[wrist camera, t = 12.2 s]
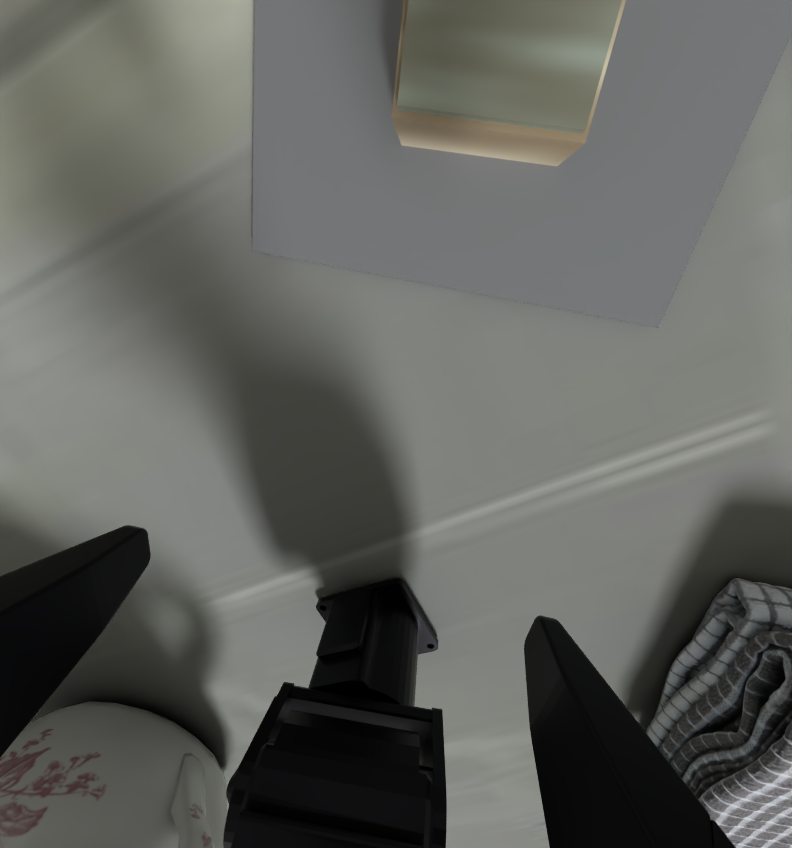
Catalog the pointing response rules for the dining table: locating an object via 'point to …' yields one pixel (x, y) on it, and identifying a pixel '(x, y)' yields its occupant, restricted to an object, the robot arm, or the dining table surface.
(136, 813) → the chamber pot
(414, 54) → the brown rectangular block
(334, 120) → the rubber mat
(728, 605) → the towel
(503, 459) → the dining table surface
